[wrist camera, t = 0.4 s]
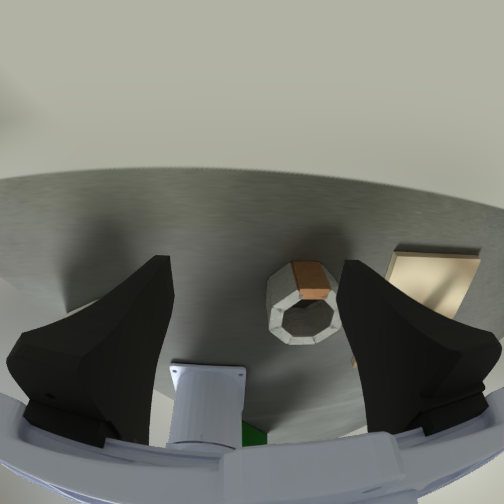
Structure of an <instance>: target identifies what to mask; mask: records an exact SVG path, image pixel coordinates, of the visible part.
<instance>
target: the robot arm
mask: <svg viewBox="0 0 504 504" xmlns="http://www.w3.org/2000/svg"><path fill="white" fill-rule="evenodd" d="M174 297H175V295H174V288H173V280H172V272H171V263H170V256H164V255H155V256H154V257H152V258H151V259H150V260H149V261H148V262H146V263H145V264H144V265H143V266H142V267H141V268H139V269H138V270H137V271H136V272H135V273H133V274H132V275H131V276H130V277H129V278H127V279H126V280H125V281H124V282H122V283H121V284H120V285H118V286H117V287H116V288H115V289H113V290H112V291H111V292H109V293H108V294H106V295H105V296H103V297H102V298H100V299H99V300H97V301H96V302H94V303H92V304H91V305H89V306H87V307H85V308H83V309H82V310H80V311H78V312H76V313H74V314H72V315H70V316H68V317H66V318H64V319H61V320H59V321H56V322H54V323H52V324H49V325H46V326H44V327H40V328H37V329H34V330H31V331H27V332H24V333H22V334H21V336H20V338H19V339H18V340H17V342H16V344H15V345H14V347H13V349H12V350H11V352H10V354H9V356H8V357H7V360H6V364H7V367H8V370H9V372H10V374H11V375H12V377H13V378H14V380H15V381H16V382H17V384H18V385H19V386H20V388H21V389H22V390H23V391H24V393H25V394H26V395H27V396H28V397H29V399H30V400H29V403H28V405H27V406H26V405H25V404H24V403H22V402H21V401H19V400H16V399H14V398H12V397H9V396H7V395H5V394H3V393H0V463H1V464H2V465H4V466H5V467H7V468H8V469H9V470H11V471H12V472H14V473H15V474H17V475H19V476H21V477H23V478H24V479H26V480H29V481H30V482H33V483H34V484H36V485H39V486H40V487H43V488H45V489H47V490H49V491H51V492H53V493H56V494H58V495H60V496H63V497H65V498H67V499H70V500H72V501H75V502H77V503H80V504H418V502H417V498H420V497H422V496H425V495H427V494H429V493H431V492H434V491H436V490H438V489H440V488H442V487H444V486H446V485H448V484H450V483H452V482H454V481H456V480H458V479H460V478H462V477H464V476H465V475H467V474H469V473H471V472H473V471H474V470H476V469H478V468H480V467H481V466H483V465H485V464H486V463H488V462H489V461H491V460H493V459H494V458H495V457H497V456H498V455H499V454H501V453H502V452H503V451H504V387H502V388H500V389H498V390H496V391H494V392H492V393H490V394H489V395H487V396H486V397H484V395H483V393H482V391H484V390H485V385H484V384H483V382H482V381H483V380H484V379H485V378H486V376H487V375H488V374H489V372H490V371H491V370H492V369H493V367H494V366H495V364H496V363H497V361H498V360H499V358H500V356H501V352H502V346H501V344H500V342H499V341H498V340H497V338H496V337H495V335H494V334H493V333H492V332H488V331H485V330H481V329H478V328H474V327H471V326H468V325H465V324H462V323H460V322H457V321H455V320H452V319H450V318H448V317H446V316H444V315H441V314H439V313H437V312H435V311H433V310H431V309H430V308H428V307H426V306H424V305H423V304H421V303H419V302H417V301H416V300H414V299H413V298H411V297H410V296H408V295H407V294H405V293H404V292H402V291H401V290H399V289H398V288H397V287H395V286H394V285H392V284H391V283H390V282H388V281H387V280H386V279H384V278H383V277H382V276H380V275H379V274H378V273H376V272H375V271H374V270H372V269H371V268H370V267H368V266H367V265H365V264H364V263H362V262H361V261H359V260H345V263H344V267H343V271H342V275H341V279H340V283H339V287H338V291H337V295H336V298H335V299H336V303H337V308H338V312H339V316H340V320H341V322H342V325H343V328H344V330H345V333H346V336H347V338H348V341H349V344H350V346H351V349H352V352H353V354H354V357H355V360H356V363H357V367H358V371H359V376H360V380H361V385H362V390H363V396H364V402H365V410H366V418H367V429H368V433H365V434H360V435H354V436H348V437H342V438H335V439H327V440H319V441H310V442H299V443H286V444H266V445H258V446H248V447H242V413H241V411H243V407H244V394H245V381H246V368H244V367H231V366H208V365H191V364H178V363H172V364H170V372H171V376H172V380H173V383H174V387H175V391H176V394H175V400H174V407H173V414H172V421H171V428H170V435H169V442H168V443H166V448H160V447H154V446H149V426H150V413H151V402H152V394H153V386H154V379H155V373H156V367H157V363H158V358H159V355H160V352H161V348H162V345H163V342H164V338H165V335H166V332H167V328H168V325H169V322H170V319H171V314H172V309H173V303H174Z"/></svg>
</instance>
